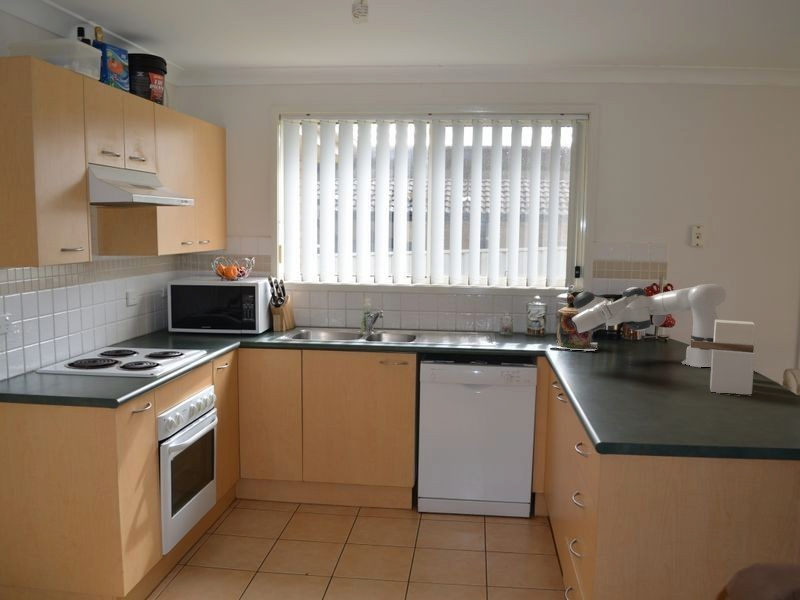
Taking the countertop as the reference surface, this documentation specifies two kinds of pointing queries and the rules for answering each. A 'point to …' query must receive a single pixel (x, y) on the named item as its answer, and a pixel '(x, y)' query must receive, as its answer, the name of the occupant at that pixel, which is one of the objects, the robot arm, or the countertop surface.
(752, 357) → the low stand
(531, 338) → the countertop surface
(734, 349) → the bar
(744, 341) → the tall stand
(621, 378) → the countertop surface
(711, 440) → the countertop surface
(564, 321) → the cookie jar
